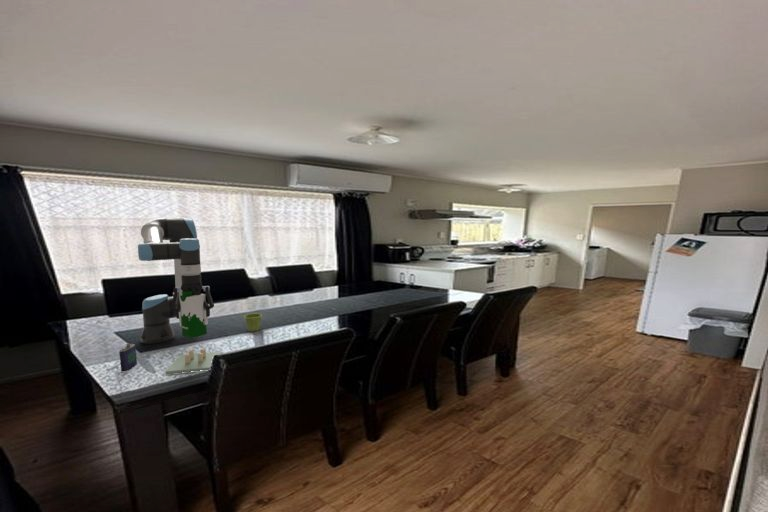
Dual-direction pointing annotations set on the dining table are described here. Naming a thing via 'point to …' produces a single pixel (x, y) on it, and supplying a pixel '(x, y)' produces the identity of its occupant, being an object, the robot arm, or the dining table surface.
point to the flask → (128, 357)
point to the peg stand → (192, 362)
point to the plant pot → (253, 322)
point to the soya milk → (192, 314)
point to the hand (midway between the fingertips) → (194, 324)
